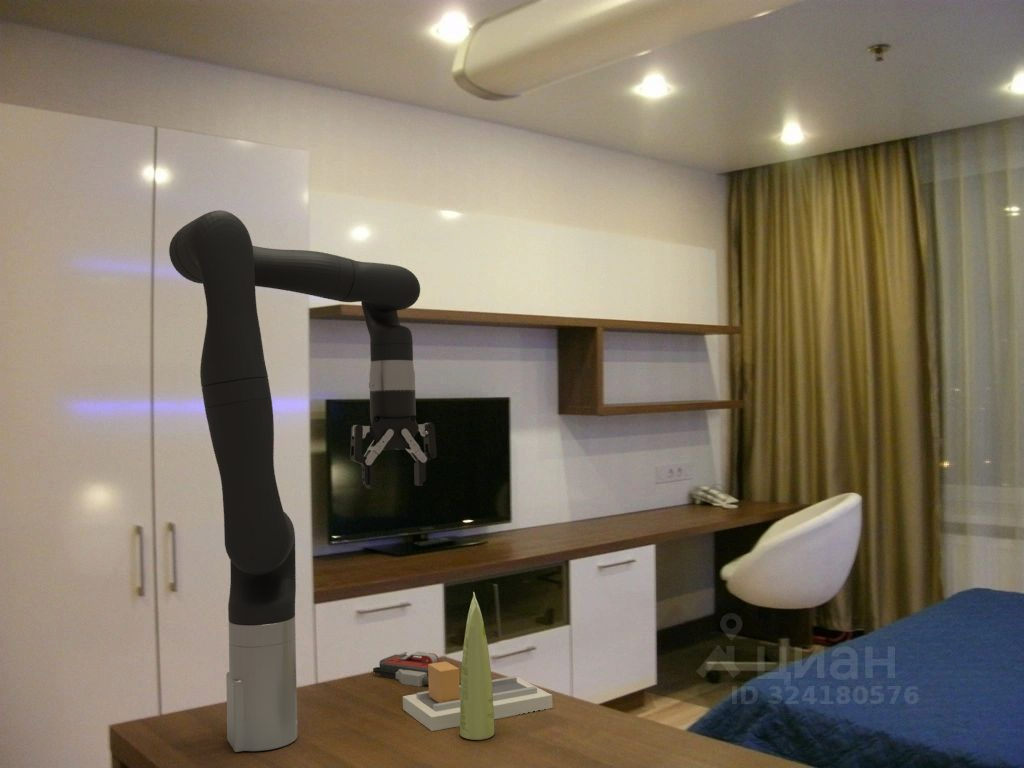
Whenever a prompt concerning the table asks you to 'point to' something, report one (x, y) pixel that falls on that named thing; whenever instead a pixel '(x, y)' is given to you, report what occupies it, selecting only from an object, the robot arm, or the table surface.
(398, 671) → the walkie-talkie
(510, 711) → the switch board
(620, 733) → the table surface
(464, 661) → the tube
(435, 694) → the switch tab
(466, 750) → the table surface
